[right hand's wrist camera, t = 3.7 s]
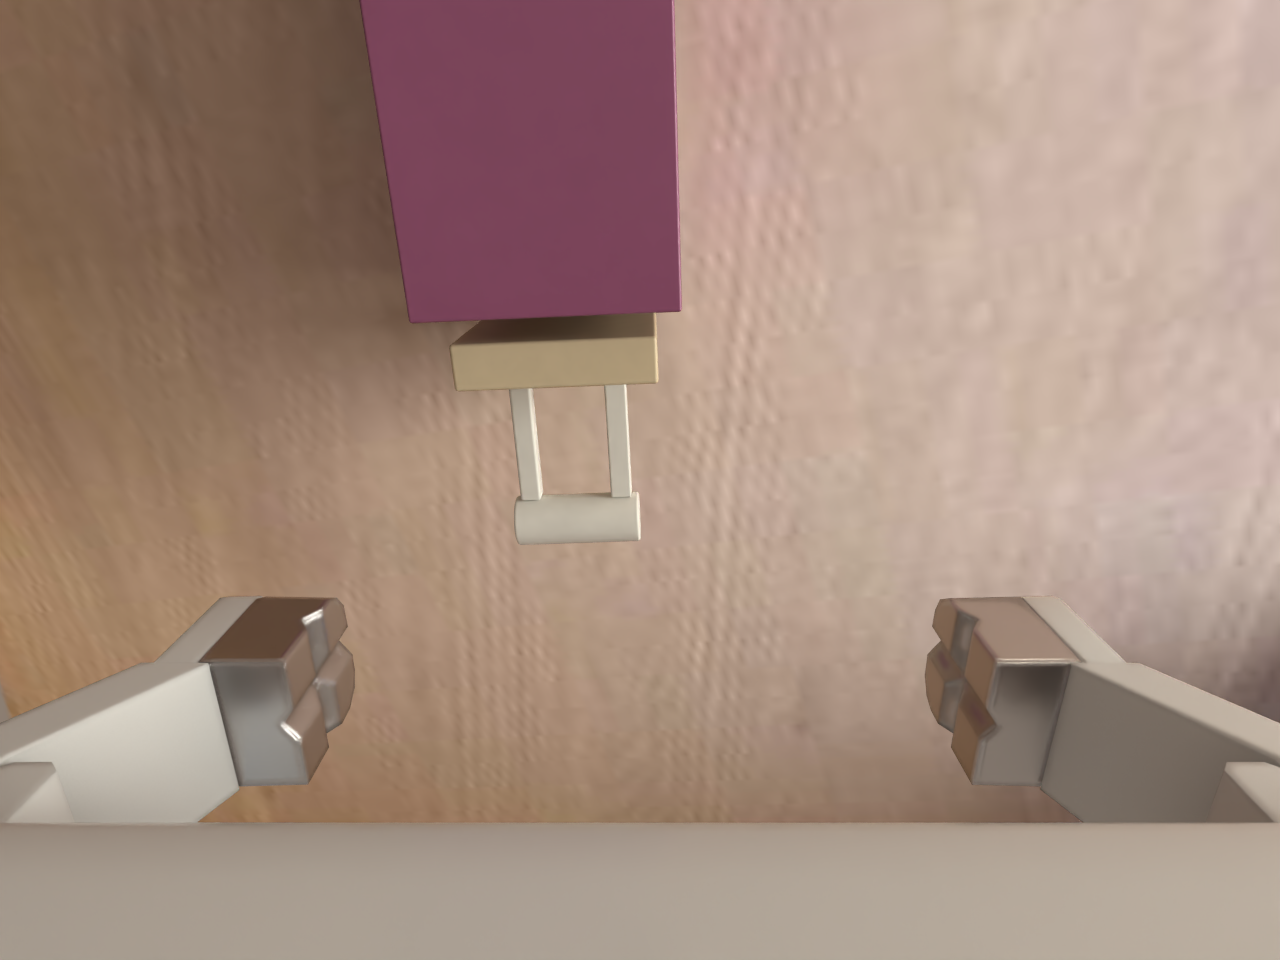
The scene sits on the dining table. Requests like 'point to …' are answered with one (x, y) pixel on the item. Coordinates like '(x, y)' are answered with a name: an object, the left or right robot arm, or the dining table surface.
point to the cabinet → (529, 155)
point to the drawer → (564, 359)
